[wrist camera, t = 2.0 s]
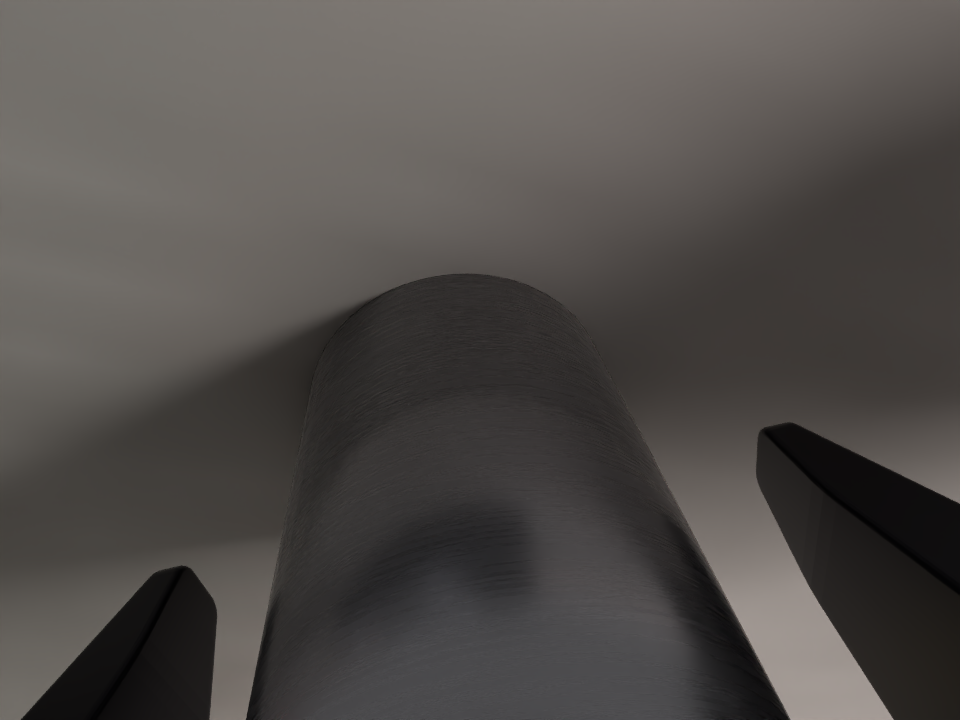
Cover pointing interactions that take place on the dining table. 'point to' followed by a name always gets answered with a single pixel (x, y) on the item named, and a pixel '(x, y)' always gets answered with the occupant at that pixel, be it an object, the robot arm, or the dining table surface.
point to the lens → (488, 533)
